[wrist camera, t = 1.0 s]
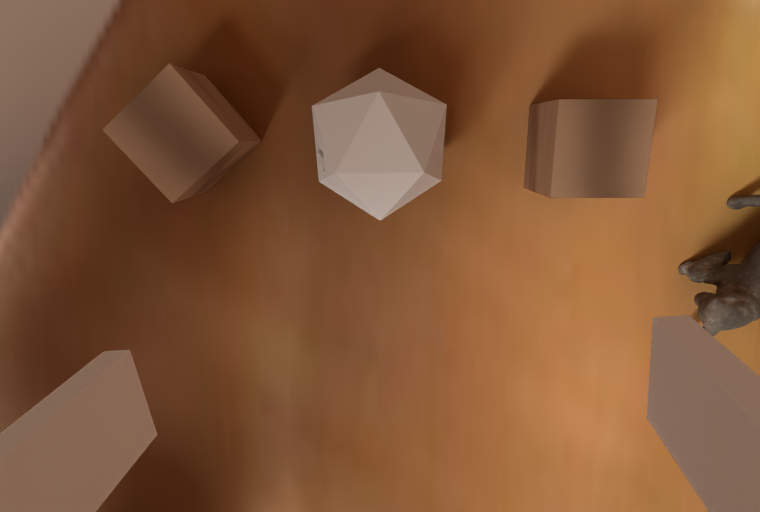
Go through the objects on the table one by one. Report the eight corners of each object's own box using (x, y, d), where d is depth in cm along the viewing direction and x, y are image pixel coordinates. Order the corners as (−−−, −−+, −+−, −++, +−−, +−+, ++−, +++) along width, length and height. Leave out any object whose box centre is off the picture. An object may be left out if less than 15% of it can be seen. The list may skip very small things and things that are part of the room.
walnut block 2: (523, 187, 36) (550, 197, 30) (529, 104, 35) (558, 99, 29) (602, 187, 36) (644, 197, 30) (611, 104, 35) (657, 99, 29)
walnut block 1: (205, 192, 36) (172, 203, 31) (148, 130, 35) (102, 129, 30) (262, 140, 36) (238, 141, 30) (205, 75, 34) (169, 63, 29)
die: (362, 53, 35) (267, 88, 28) (479, 69, 31) (402, 114, 24) (365, 163, 39) (285, 216, 33) (466, 188, 36) (399, 254, 29)
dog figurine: (747, 176, 36) (839, 186, 29) (800, 219, 37) (902, 241, 30) (637, 298, 38) (696, 336, 31) (689, 336, 39) (758, 382, 32)
